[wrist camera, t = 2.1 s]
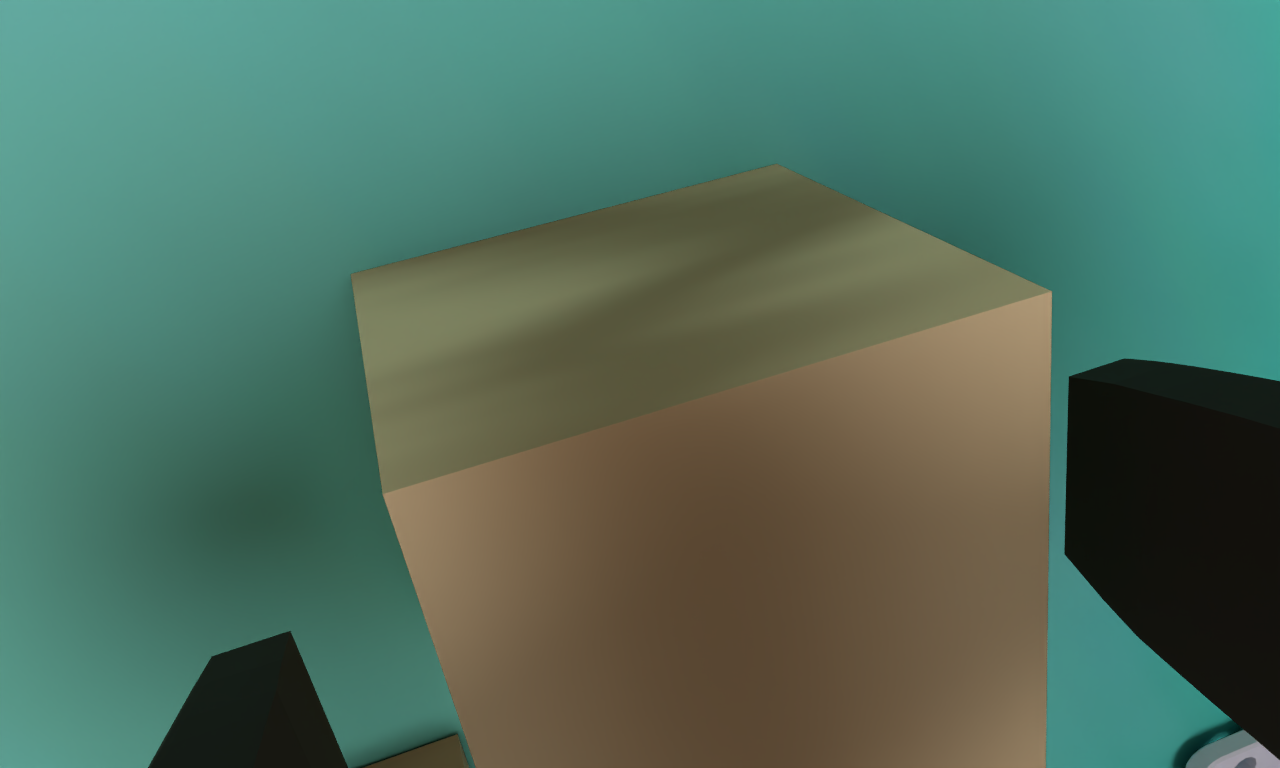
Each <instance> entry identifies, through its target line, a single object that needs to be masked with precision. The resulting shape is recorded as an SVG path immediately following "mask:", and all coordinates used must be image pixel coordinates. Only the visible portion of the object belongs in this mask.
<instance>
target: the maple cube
mask: <svg viewBox="0 0 1280 768" xmlns="http://www.w3.org/2000/svg"><path fill="white" fill-rule="evenodd" d="M351 280H352V287H353V293H354V300H355V307H356V314H357V321H358V328H359V335H360V342H361V349H362V355H363V362H364V369H365V376H366V383H367V390H368V397H369V404H370V411H371V417H372V424H373V431H374V438H375V445H376V452H377V459H378V466H379V473H380V479H381V486H382V493H383V497H384V500H385V503H386V506H387V508H388V511H389V514H390V517H391V520H392V523H393V526H394V529H395V532H396V535H397V538H398V541H399V544H400V547H401V550H402V552H403V555H404V558H405V561H406V564H407V567H408V570H409V573H410V576H411V579H412V582H413V585H414V588H415V591H416V594H417V597H418V599H419V602H420V605H421V608H422V611H423V614H424V617H425V620H426V623H427V626H428V629H429V632H430V635H431V638H432V641H433V644H434V646H435V649H436V652H437V655H438V658H439V661H440V664H441V667H442V670H443V673H444V676H445V679H446V682H447V685H448V688H449V691H450V693H451V696H452V699H453V702H454V705H455V708H456V711H457V714H458V717H459V720H460V723H461V726H462V729H463V732H464V735H465V738H466V740H467V743H468V746H469V749H470V752H471V755H472V758H473V761H474V764H475V767H476V768H1046V706H1047V630H1048V554H1049V478H1050V402H1051V326H1052V291H1050V290H1048V289H1046V288H1044V287H1041V286H1039V285H1037V284H1035V283H1033V282H1031V281H1028V280H1026V279H1024V278H1022V277H1020V276H1018V275H1016V274H1013V273H1011V272H1009V271H1007V270H1005V269H1003V268H1000V267H998V266H996V265H994V264H992V263H990V262H987V261H985V260H983V259H981V258H979V257H977V256H975V255H972V254H970V253H968V252H966V251H964V250H962V249H959V248H957V247H955V246H953V245H951V244H949V243H947V242H944V241H942V240H940V239H938V238H936V237H934V236H931V235H929V234H927V233H925V232H923V231H921V230H919V229H916V228H914V227H912V226H910V225H908V224H906V223H903V222H901V221H899V220H897V219H895V218H893V217H890V216H888V215H886V214H884V213H882V212H880V211H878V210H875V209H873V208H871V207H869V206H867V205H865V204H862V203H860V202H858V201H856V200H854V199H852V198H850V197H847V196H845V195H843V194H841V193H839V192H837V191H834V190H832V189H830V188H828V187H826V186H824V185H821V184H819V183H817V182H815V181H813V180H811V179H809V178H806V177H804V176H802V175H800V174H798V173H796V172H793V171H791V170H789V169H787V168H785V167H783V166H781V165H778V164H774V165H770V166H766V167H762V168H759V169H755V170H751V171H747V172H743V173H739V174H735V175H731V176H728V177H724V178H720V179H716V180H712V181H708V182H704V183H701V184H697V185H693V186H689V187H685V188H681V189H677V190H673V191H670V192H666V193H662V194H658V195H654V196H650V197H646V198H643V199H639V200H635V201H631V202H627V203H623V204H619V205H615V206H612V207H608V208H604V209H600V210H596V211H592V212H588V213H585V214H581V215H577V216H573V217H569V218H565V219H561V220H557V221H554V222H550V223H546V224H542V225H538V226H534V227H530V228H527V229H523V230H519V231H515V232H511V233H507V234H503V235H499V236H496V237H492V238H488V239H484V240H480V241H476V242H472V243H469V244H465V245H461V246H457V247H453V248H449V249H445V250H441V251H438V252H434V253H430V254H426V255H422V256H418V257H414V258H411V259H407V260H403V261H399V262H395V263H391V264H387V265H383V266H380V267H376V268H372V269H368V270H364V271H360V272H356V273H353V274H351Z"/></svg>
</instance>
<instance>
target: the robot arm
mask: <svg viewBox="0 0 1280 768" xmlns="http://www.w3.org/2000/svg"><path fill="white" fill-rule="evenodd" d="M1065 555H1066V556H1067V558H1068V559H1069V560H1070V561H1071V562H1072V563H1073V565H1074V566H1075V567H1076V568H1077V569H1078V570H1079V572H1080V573H1081V574H1082V575H1083V576H1084V578H1085V579H1086V580H1087V581H1088V582H1089V583H1090V585H1091V586H1092V587H1093V588H1094V589H1095V590H1096V592H1097V593H1098V594H1099V595H1100V596H1101V598H1102V599H1103V600H1104V601H1105V602H1106V603H1107V604H1108V605H1109V606H1110V607H1111V608H1112V610H1113V611H1114V612H1115V613H1116V614H1117V615H1118V616H1119V617H1120V618H1121V619H1122V620H1123V621H1124V623H1125V624H1126V625H1127V626H1128V627H1129V628H1130V629H1131V630H1132V631H1133V632H1134V633H1135V634H1136V636H1138V637H1139V638H1140V639H1141V640H1142V641H1143V642H1144V643H1145V644H1146V645H1148V646H1149V647H1150V648H1151V649H1152V650H1153V651H1154V652H1155V653H1156V654H1157V655H1159V656H1160V657H1161V658H1162V659H1163V660H1164V661H1165V662H1167V663H1168V664H1169V665H1170V666H1171V667H1172V668H1173V669H1175V670H1176V671H1177V672H1178V673H1179V674H1180V675H1181V676H1182V677H1184V678H1185V679H1186V680H1187V681H1188V682H1189V683H1190V684H1192V685H1193V686H1194V687H1195V688H1196V689H1197V690H1198V691H1200V692H1201V693H1202V694H1203V695H1204V696H1205V697H1206V698H1208V699H1209V700H1210V701H1211V702H1212V703H1213V704H1215V705H1216V706H1217V707H1218V708H1219V709H1220V710H1222V711H1223V712H1224V713H1225V714H1226V715H1227V716H1229V717H1230V718H1231V719H1232V720H1233V721H1234V722H1236V723H1237V724H1238V725H1239V726H1240V727H1241V728H1243V729H1244V730H1241V731H1239V732H1236V733H1234V734H1232V735H1229V736H1227V737H1225V738H1222V739H1220V740H1217V741H1215V742H1213V743H1210V744H1208V745H1206V746H1204V747H1202V748H1201V749H1199V750H1198V751H1197V752H1196V753H1194V754H1193V755H1192V756H1191V758H1190V759H1189V761H1188V762H1187V764H1186V767H1185V768H1280V381H1275V380H1270V379H1264V378H1259V377H1253V376H1248V375H1242V374H1236V373H1231V372H1225V371H1219V370H1212V369H1206V368H1200V367H1194V366H1187V365H1180V364H1173V363H1165V362H1157V361H1147V360H1136V359H1121V360H1118V361H1115V362H1112V363H1109V364H1106V365H1103V366H1100V367H1097V368H1094V369H1091V370H1088V371H1085V372H1082V373H1079V374H1075V375H1072V376H1069V391H1068V432H1067V474H1066V515H1065ZM148 768H348V767H347V764H346V762H345V760H344V757H343V755H342V752H341V750H340V748H339V745H338V743H337V741H336V738H335V736H334V733H333V731H332V729H331V726H330V724H329V722H328V719H327V717H326V714H325V712H324V710H323V707H322V705H321V703H320V700H319V698H318V695H317V693H316V691H315V688H314V686H313V684H312V681H311V679H310V676H309V674H308V672H307V669H306V667H305V665H304V662H303V660H302V657H301V655H300V653H299V650H298V648H297V646H296V643H295V641H294V638H293V636H292V634H291V631H288V632H285V633H282V634H279V635H276V636H273V637H270V638H267V639H264V640H261V641H258V642H255V643H252V644H249V645H246V646H243V647H239V648H236V649H233V650H230V651H227V652H224V653H221V654H218V655H215V656H212V657H211V659H210V661H209V662H208V664H207V666H206V667H205V669H204V671H203V672H202V674H201V676H200V677H199V679H198V681H197V682H196V684H195V686H194V687H193V689H192V691H191V692H190V694H189V696H188V698H187V699H186V701H185V703H184V705H183V706H182V708H181V710H180V712H179V714H178V715H177V717H176V719H175V721H174V722H173V724H172V726H171V728H170V730H169V731H168V733H167V735H166V737H165V738H164V740H163V742H162V744H161V746H160V747H159V749H158V751H157V753H156V755H155V756H154V758H153V760H152V762H151V763H150V765H149V767H148Z"/></svg>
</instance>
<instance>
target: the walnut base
mask: <svg viewBox="0 0 1280 768" xmlns="http://www.w3.org/2000/svg"><path fill="white" fill-rule="evenodd" d="M364 768H469V766H468V763H467V760H466V757H465V754H464V751H463V748H462V745H461V742H460V739H459V737H458V734H456V735H454V736H451V737H448V738H445V739H442V740H440V741H437V742H434V743H431V744H428V745H425V746H423V747H420V748H417V749H414V750H411V751H409V752H406V753H403V754H400V755H397V756H395V757H392V758H389V759H386V760H383V761H380V762H378V763H375V764H372V765H369V766H366V767H364Z"/></svg>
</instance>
